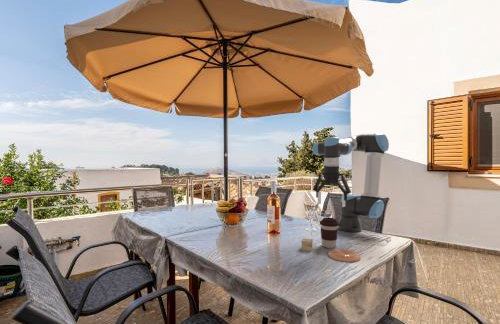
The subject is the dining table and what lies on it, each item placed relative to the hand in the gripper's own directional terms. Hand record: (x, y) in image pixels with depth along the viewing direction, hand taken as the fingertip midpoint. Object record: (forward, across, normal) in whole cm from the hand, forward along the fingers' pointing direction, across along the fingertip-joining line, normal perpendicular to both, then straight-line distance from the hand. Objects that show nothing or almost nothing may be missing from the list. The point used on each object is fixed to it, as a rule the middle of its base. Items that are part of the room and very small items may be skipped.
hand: (331, 205), depth 149 cm
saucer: (+22, +11, -10) cm, 27 cm away
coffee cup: (+23, -1, 0) cm, 23 cm away
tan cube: (+23, -8, -12) cm, 27 cm away
